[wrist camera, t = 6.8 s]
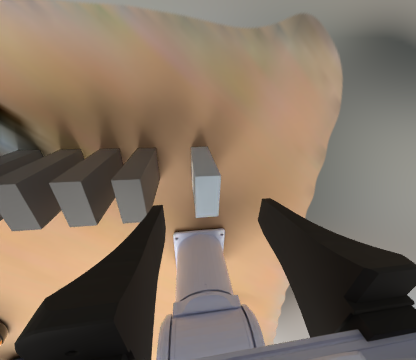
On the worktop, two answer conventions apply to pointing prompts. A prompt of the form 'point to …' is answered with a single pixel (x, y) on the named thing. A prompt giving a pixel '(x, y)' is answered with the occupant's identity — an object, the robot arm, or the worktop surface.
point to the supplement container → (3, 333)
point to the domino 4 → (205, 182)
